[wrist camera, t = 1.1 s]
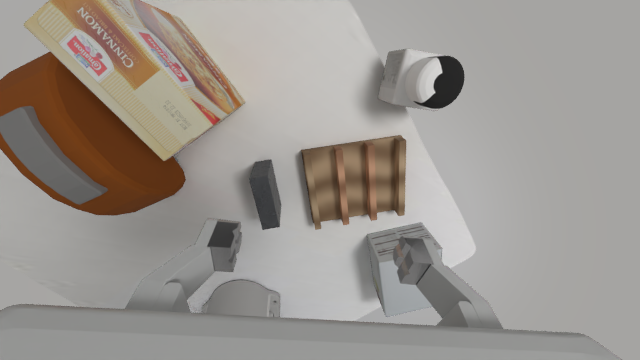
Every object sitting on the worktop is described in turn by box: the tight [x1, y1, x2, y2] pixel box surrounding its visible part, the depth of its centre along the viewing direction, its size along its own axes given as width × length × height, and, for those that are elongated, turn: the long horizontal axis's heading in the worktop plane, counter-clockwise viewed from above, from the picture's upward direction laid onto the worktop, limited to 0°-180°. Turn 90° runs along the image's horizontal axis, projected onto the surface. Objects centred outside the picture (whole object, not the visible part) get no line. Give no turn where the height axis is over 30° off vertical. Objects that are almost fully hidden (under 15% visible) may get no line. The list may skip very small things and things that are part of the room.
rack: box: [301, 135, 406, 230], centre depth 49 cm, size 16×19×4 cm
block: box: [249, 160, 281, 230], centre depth 46 cm, size 10×3×8 cm, turn 7°
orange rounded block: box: [0, 52, 186, 215], centre depth 35 cm, size 23×9×17 cm, turn 23°
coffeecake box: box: [24, 0, 245, 161], centre depth 32 cm, size 15×7×20 cm, turn 33°
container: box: [378, 49, 464, 111], centre depth 38 cm, size 8×8×13 cm
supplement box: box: [367, 223, 442, 317], centre depth 57 cm, size 17×13×9 cm
